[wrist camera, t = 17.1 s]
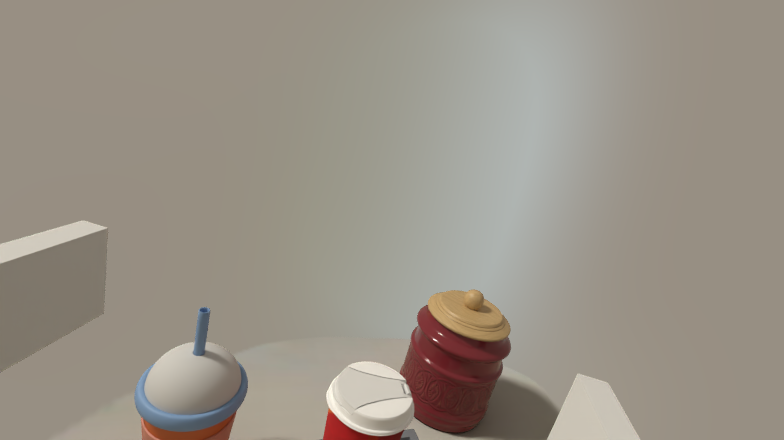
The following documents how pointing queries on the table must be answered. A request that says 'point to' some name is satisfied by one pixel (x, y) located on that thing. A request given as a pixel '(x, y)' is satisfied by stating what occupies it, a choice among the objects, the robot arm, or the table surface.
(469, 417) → the canister
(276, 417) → the table surface
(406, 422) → the paper cup
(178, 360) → the cup with straw
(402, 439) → the tray
